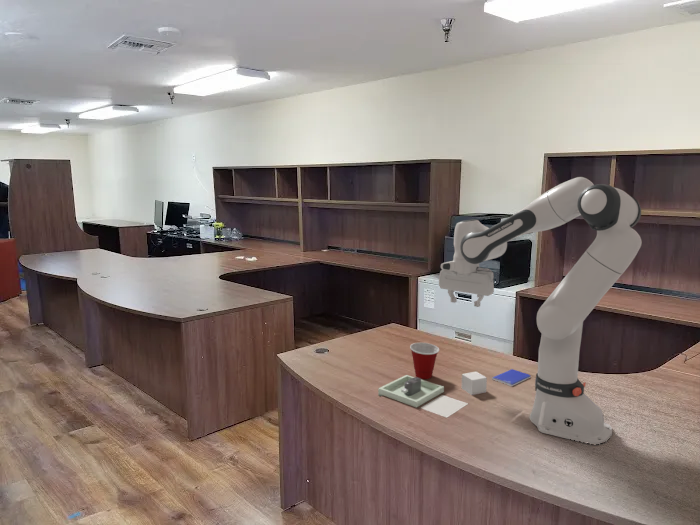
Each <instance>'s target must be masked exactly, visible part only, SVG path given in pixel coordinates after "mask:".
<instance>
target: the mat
mask: <svg viewBox="0 0 700 525" xmlns="http://www.w3.org/2000/svg"><path fill="white" fill-rule="evenodd" d="M467 405H469V403H468V402H465V401H462V400H459V399H456V398H453V397H450V396H447V395H444V394H440V395H439V396H437V397H435V399H432V400H430V401H428V402H427V403H426V404H423V405H421V407H420V409H422V410H424V411H427V412H430V413H433V414H436V415H438V416H441V417H444V418H449V417H451V416H452V415H453V414H455V413H457V412H458V411H460V410H462V409H463V408H464V407H466V406H467Z"/></svg>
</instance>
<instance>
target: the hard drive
mask: <svg viewBox="0 0 700 525" xmlns="http://www.w3.org/2000/svg"><path fill="white" fill-rule="evenodd" d="M528 379H531V375H530V374H528V373H525V372H521V371H518V370H516V369H513V368H511V369H508V370H505V371H504V372H502V373H500V374H499V373H498V374H497V375H496V376H492V377H491V380H493V381H494V380H495V382H497V381H498V383H500V382H501V383H500V384H503V383H504V384H503V385H506V384H507V385H506V386H509V387H513V386H516V385H518V384H520V383H522V382H524V381H526V380H528Z"/></svg>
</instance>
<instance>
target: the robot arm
mask: <svg viewBox="0 0 700 525" xmlns="http://www.w3.org/2000/svg"><path fill="white" fill-rule="evenodd" d="M579 216H582V218H583V219H584V221H585V222H586V223H587V224H588V226H589V227H590V229H591V230H593V231H596V237H595V239H594V240H593V241H592V243H591V244H590V245H589V246H588V248H586V250H585V251H584V253H582V255H581V256H580V257H579V259H578V260H577V262H576V263H574V265H573V267H572V268H571V269H570V270H569V271H568V272H567V274H566V275H565V276H564V278H563V279H562V280H561V282H560V283H559V284H558V285H557V286H556V287H555V288H554V290H553V291H552V292H551V294H549V296H548V297H547V299H546V300H545V301H544V302H543V304H541V306H540V307H539V308H538V311H537V313H536V325H537V328H538V331H539V332H540V333H541V335H540V336H541V337H540V343H539V347H538V359H537V360H538V361H537V373H536V374H535V381H534V388H535V389H534V391H535V397H534V401H533V406H532V409H531V412H530V414H529V420H530V421H531V423H532V424H533V425H535V427H537V429H538V431H539V432H540V433H542V434H547V435H550V436H555V437H558V438H563V439H566V440H570V439H571V440H570V441H574V440H575V442H579V441H581V442H580V443H583V442H588V443H591V444H599V443H602V442H605V441H606V442H608V441H609V440H610V439H611V437H612V435H613V427H612V426H611V424H610V423H607V422H605V417H604V412H603V410H602V408H601V407H600V406H599V405H598V404H596V403H595V402H594V401H593V399H591V398H590V397H589V396H588V395H587V394H585V393H584V392H585V387H586V382H585V381H584V382H583V383H582V382H581V381H580V379H579V377H578V376H579V364H580V363H579V361H580V350H581V344H582V343H581V342H582V334H583V325H584V321H585V320H586V319H587V317H588V316H589V314H590V313H591V312H592V311H593V310H594V308H596V306H597V305H598V304H599V303H600V302H601V300H602V298H603V297H604V296H605V295H606V294H607V293H608V292H609V290H610V289H611V288H612V287H613V285H614V284H615V283H616V282H617V281H618V280H619V278H620V277H621V276H622V275H623V274H624V273H625V271H626V270H627V269H628V268H629V266H630V265H631V263H632V262H633V261H634V259H636V256H637V254H638V252H639V250H640V249H641V247H642V245H643V244H642V238H641V235H640V234H639V233H638V232H637V231H636V230H635V229H634V228H633V227H634V226H636V225H637V224H638V223H639V221H640V220H641V217H642V207H641V205H640V203H639V202H638V200H637V199H636V198H635V197H634V196H633V195H630V194H628V193H627V192H626V191H624V190H622V189H620V188H618V187H614V186H612V185H609V184H605V183H598V184H594V183H593V182H592V181H591V180H589V179H588V178H586V177H583V176H577V177H574V178H571V179H569V180H567V181H564V182H562V183H559V184H558V185H556V186H554V187H552V188H550V189H549V190H547V191H545V192H544V193H542V194H541V195H539V196H537V197H536V198H534V199H533V200H532V201H531V202H530V203H527V205H525V206H524V207H523V208H521V209H519V211H517V212H516V213H514V214H512V215H511V216H509V217H506V219H504V220H502V221H500V222H497V224H495V225H492V226H491V227H488V226H487V225H486V226H485V225H484V224H482V222H480V221H479V219H475V218H472V219H466V220H461V221H458V222H456V224H455V227H454V232H453V234H454V235H453V247H454V254H453V257H452V258H453V259H452V260H449V261H446V262H443V263H441V264H440V269H441V270H440V272H439V275H438V287H439V288H440V289H442V290H447V294H448V296H449V298H450V303H453V304H455V303H457V301H458V300H457V298H458V297H457V296H455V294H454V292H462V293H466V294H471V295H476V297H477V300H475V301H473V306H474V307H475V308H480V307H481V302H482V300H483V298H484V297H485V296H486V297H489V296H492V295H493V293H494V292H495V286H494V284H495V283H494V278H495V277H494V272H493V271H492V270H491V268H487V267H486V268H485V267H480V263H483V262H486V261H489V260H493V259H494V260H495V259H497V258H500V257H502V256H503V255H504V254H505V253H506V251H507V249H508V242H509V241H511V240H514V239H515V238H517V237H520V236H523V235H528V234H533V233H539V232H544V231H548V230H551V229H555V228H558V227H561V226H562V225H565V224H566V223H568V222H571V221H572V220H574V219H575V218H578V217H579ZM610 436H611V437H610ZM609 438H610V439H609ZM608 439H609V440H608ZM607 440H608V441H607ZM606 442H605V443H606ZM591 444H590V445H591ZM599 445H600V444H599Z"/></svg>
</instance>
